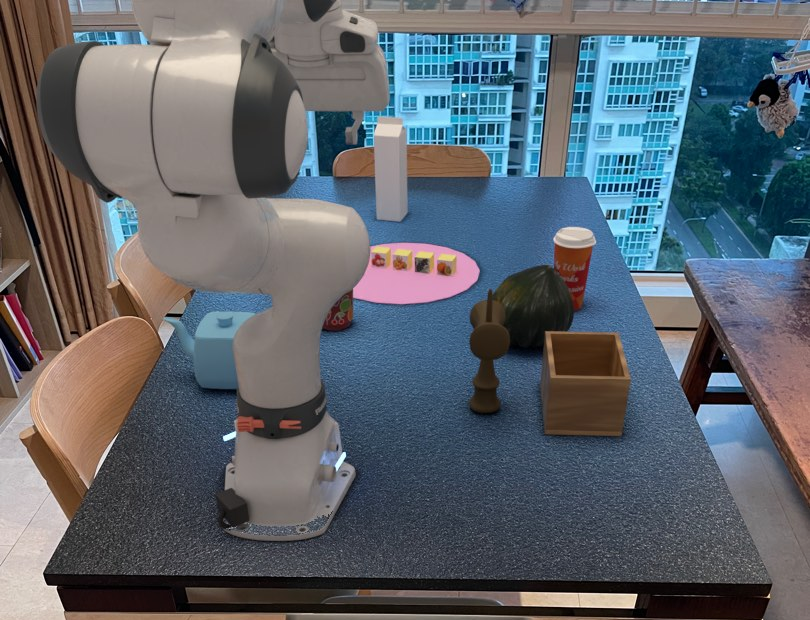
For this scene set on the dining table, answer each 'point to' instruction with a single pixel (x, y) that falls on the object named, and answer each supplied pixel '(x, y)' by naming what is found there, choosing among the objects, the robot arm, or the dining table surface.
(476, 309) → the kendama
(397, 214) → the milk
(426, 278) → the platter
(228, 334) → the teapot
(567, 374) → the caddy
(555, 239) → the paper cup
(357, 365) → the dining table surface
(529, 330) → the squash
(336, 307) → the smoothie
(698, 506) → the dining table surface
